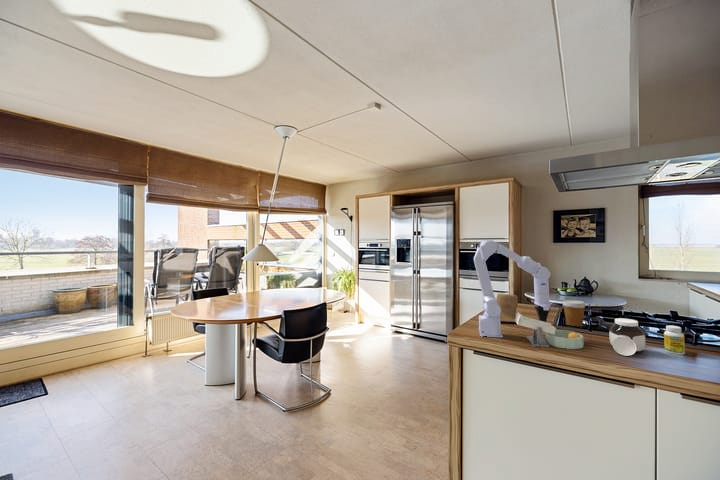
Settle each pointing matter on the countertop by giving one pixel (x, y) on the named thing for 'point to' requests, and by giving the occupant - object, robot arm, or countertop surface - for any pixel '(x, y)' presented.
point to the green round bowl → (564, 340)
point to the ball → (573, 335)
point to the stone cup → (507, 307)
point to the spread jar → (627, 337)
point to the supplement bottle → (674, 340)
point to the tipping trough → (534, 323)
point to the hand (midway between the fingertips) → (542, 322)
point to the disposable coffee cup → (574, 312)
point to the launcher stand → (537, 339)
